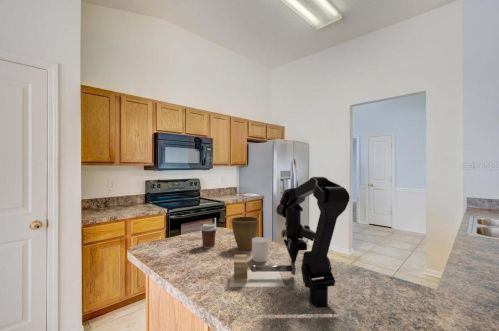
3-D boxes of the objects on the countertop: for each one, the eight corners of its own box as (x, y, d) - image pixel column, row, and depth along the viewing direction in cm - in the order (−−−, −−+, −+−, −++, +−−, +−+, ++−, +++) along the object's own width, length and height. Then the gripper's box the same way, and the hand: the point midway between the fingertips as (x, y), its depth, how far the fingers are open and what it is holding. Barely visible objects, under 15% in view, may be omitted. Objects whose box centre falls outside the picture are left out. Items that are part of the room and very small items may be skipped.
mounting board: (284, 288, 85) (284, 286, 85) (229, 289, 84) (229, 286, 84) (278, 271, 99) (278, 269, 99) (231, 272, 98) (231, 270, 98)
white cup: (248, 262, 109) (248, 240, 109) (256, 256, 116) (256, 236, 116) (264, 265, 105) (264, 243, 106) (270, 259, 112) (271, 238, 113)
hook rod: (296, 277, 90) (296, 254, 90) (250, 277, 89) (250, 254, 89) (293, 271, 94) (293, 250, 95) (250, 272, 94) (250, 250, 94)
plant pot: (259, 244, 135) (259, 216, 135) (256, 253, 120) (256, 222, 120) (234, 243, 137) (234, 215, 137) (228, 252, 122) (228, 221, 123)
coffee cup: (198, 245, 133) (198, 224, 133) (213, 243, 137) (213, 222, 137) (203, 250, 125) (203, 227, 125) (219, 247, 129) (219, 225, 129)
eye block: (247, 282, 88) (247, 262, 88) (233, 282, 87) (234, 262, 88) (246, 273, 96) (247, 254, 96) (234, 273, 95) (234, 254, 96)
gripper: (321, 226, 83) (321, 271, 83) (307, 216, 102) (306, 252, 102) (290, 226, 83) (290, 271, 83) (281, 216, 102) (281, 252, 101)
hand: (292, 261), depth 92 cm, fingers open, 3 cm apart
